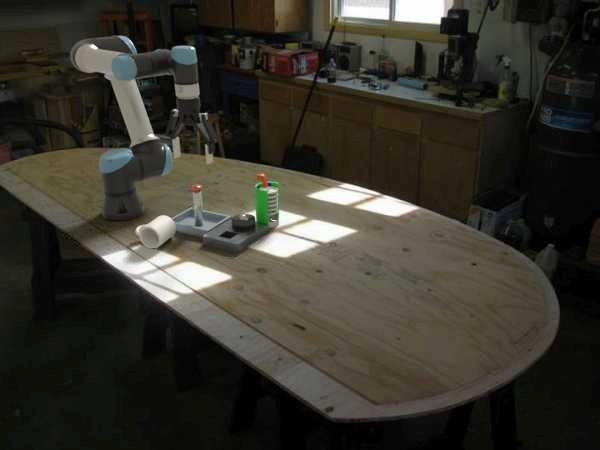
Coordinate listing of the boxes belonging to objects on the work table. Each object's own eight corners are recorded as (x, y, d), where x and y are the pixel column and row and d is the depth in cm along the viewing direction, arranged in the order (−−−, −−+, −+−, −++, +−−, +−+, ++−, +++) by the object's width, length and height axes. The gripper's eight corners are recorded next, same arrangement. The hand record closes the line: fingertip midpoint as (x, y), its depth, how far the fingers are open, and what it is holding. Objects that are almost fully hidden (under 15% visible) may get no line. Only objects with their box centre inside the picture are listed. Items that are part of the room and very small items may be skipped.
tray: (166, 229, 210) (165, 221, 209) (191, 214, 221) (191, 207, 220) (208, 239, 202) (207, 230, 201) (232, 223, 213) (231, 216, 212)
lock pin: (191, 225, 210) (187, 187, 205) (198, 221, 214) (195, 183, 208) (200, 227, 209) (197, 189, 203) (207, 223, 212) (204, 185, 206)
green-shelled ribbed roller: (275, 229, 208) (274, 180, 201) (253, 228, 210) (250, 179, 202) (281, 219, 216) (280, 171, 209) (260, 217, 218) (257, 170, 210)
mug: (177, 238, 203) (175, 216, 200) (161, 250, 194) (159, 228, 191) (146, 233, 207) (143, 212, 203) (130, 246, 198) (126, 223, 195)
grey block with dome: (203, 244, 198) (201, 225, 195) (234, 224, 212) (233, 207, 210) (238, 252, 192) (237, 234, 189) (268, 231, 206) (267, 214, 204)
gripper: (150, 95, 195) (157, 157, 204) (212, 102, 184) (217, 168, 193) (165, 90, 201) (171, 152, 210) (226, 97, 190) (230, 162, 199)
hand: (193, 160), depth 202 cm, fingers open, 13 cm apart
